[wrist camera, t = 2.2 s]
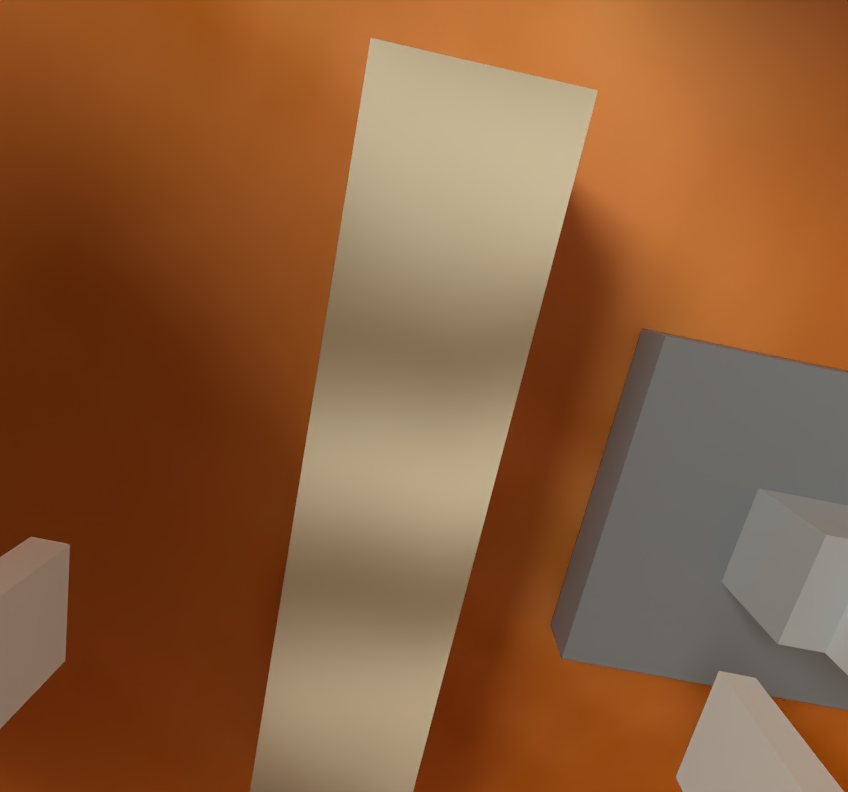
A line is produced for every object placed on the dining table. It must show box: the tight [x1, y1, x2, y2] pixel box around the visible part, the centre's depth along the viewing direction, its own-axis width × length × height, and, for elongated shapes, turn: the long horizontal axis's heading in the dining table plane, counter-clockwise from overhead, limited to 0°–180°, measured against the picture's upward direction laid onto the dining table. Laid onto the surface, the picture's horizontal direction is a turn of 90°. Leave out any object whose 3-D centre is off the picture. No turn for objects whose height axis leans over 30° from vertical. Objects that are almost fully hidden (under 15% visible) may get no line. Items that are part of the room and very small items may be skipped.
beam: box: [250, 38, 598, 792], centre depth 14 cm, size 22×4×5 cm, turn 168°
